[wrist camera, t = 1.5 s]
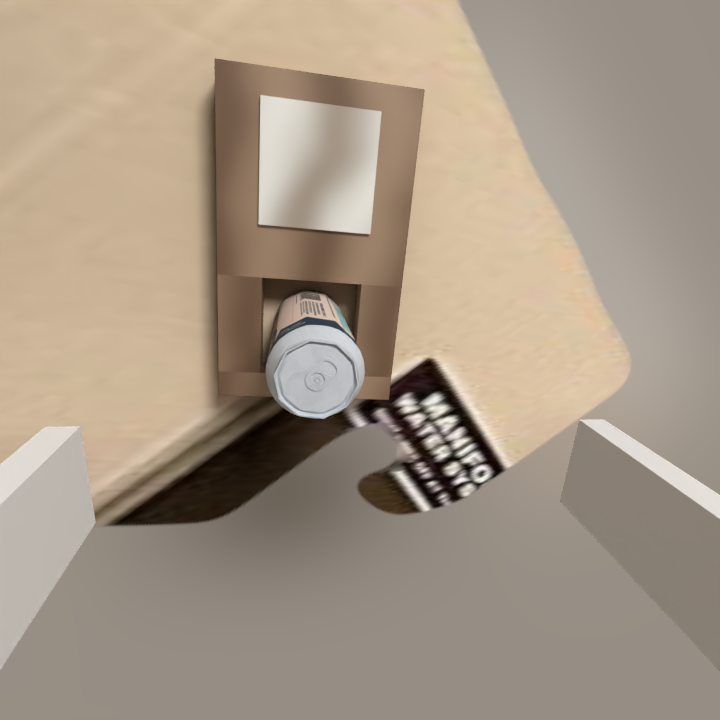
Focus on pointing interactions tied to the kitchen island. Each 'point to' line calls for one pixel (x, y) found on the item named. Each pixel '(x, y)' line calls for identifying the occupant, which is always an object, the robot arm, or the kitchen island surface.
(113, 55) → the kitchen island surface
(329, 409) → the beer can
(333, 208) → the pocket board
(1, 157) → the kitchen island surface
